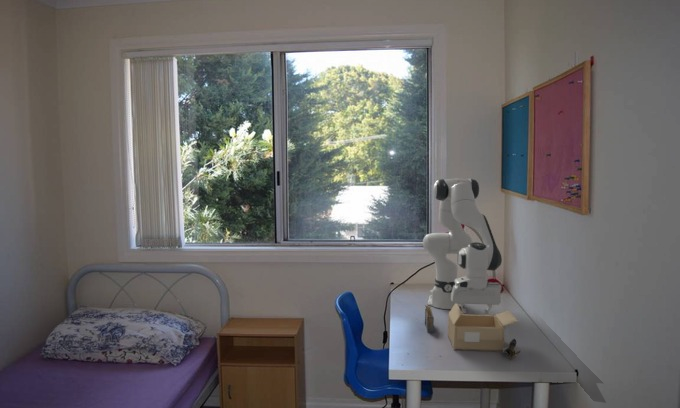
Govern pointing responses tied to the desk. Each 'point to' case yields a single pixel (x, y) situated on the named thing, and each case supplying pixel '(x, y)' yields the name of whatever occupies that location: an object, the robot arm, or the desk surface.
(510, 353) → the eagle figurine
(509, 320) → the flap
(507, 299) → the desk surface
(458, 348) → the carton
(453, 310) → the flap
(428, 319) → the miniature staircase model
